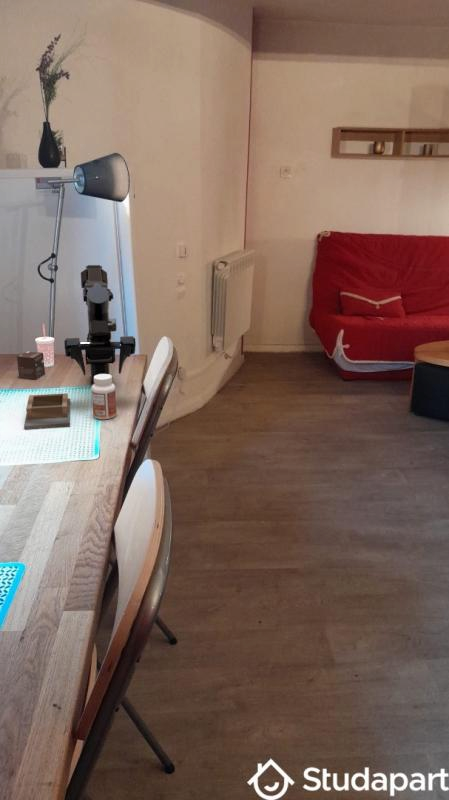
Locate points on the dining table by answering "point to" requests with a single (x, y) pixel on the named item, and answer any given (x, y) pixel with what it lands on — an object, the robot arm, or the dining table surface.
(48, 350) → the beverage cup
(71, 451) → the dining table surface
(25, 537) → the dining table surface
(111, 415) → the pill bottle
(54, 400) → the socket
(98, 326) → the robot arm
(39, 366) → the box
